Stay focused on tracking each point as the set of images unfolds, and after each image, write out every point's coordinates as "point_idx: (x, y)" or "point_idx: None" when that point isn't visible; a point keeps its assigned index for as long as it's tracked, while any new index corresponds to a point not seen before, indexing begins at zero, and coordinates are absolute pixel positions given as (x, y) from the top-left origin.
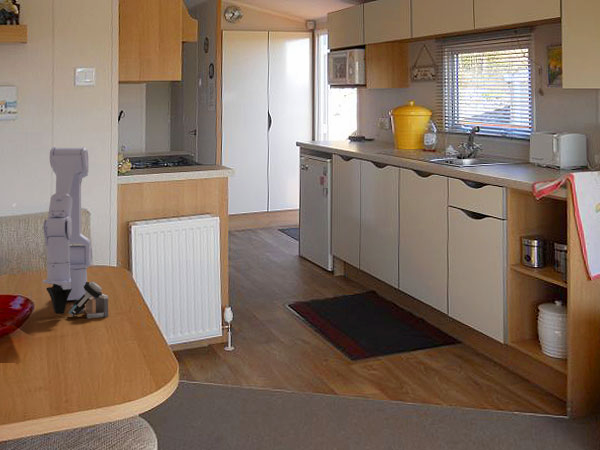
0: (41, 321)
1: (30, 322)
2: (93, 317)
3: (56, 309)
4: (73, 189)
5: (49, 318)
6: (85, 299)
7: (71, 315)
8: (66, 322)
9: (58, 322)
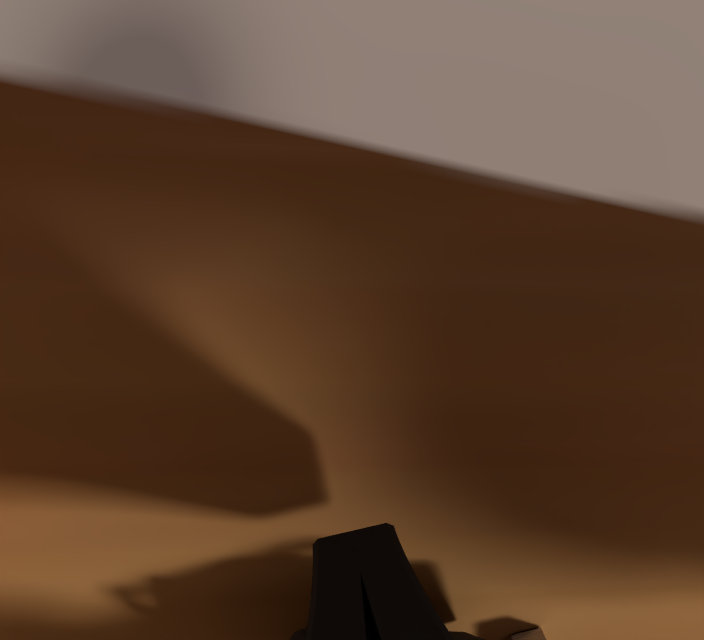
0: (259, 299)
1: (230, 117)
2: None
3: (313, 612)
4: None
5: (467, 399)
6: None
7: (300, 637)
8: (45, 570)
9: (75, 497)
